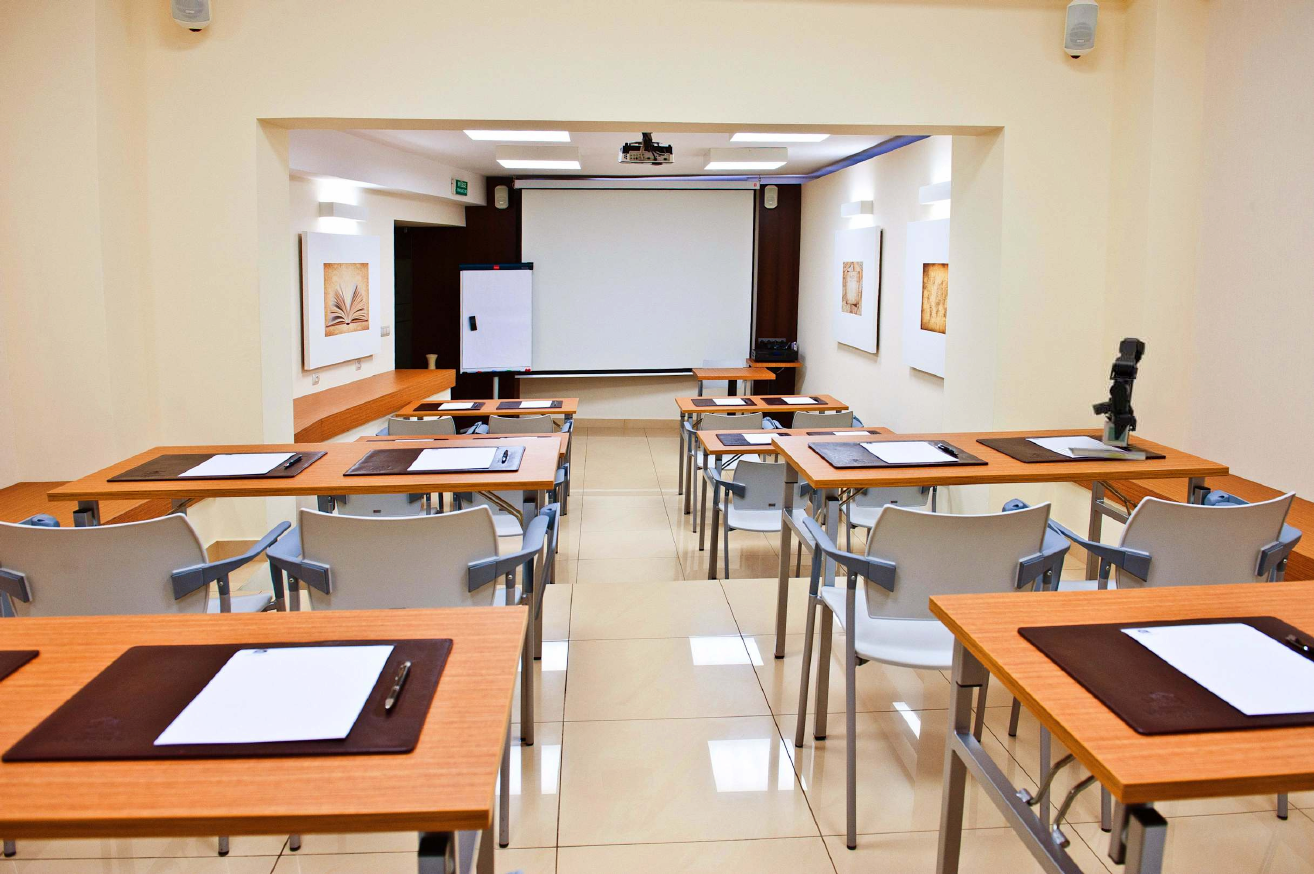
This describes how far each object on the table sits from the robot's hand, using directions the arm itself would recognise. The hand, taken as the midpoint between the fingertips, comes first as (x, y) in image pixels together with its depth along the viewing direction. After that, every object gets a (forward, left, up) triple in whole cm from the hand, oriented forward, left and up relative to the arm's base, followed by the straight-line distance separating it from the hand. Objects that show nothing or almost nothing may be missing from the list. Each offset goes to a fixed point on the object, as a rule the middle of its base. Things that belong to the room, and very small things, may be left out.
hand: (1114, 438), depth 328 cm
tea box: (0, 0, -2) cm, 2 cm away
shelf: (0, -3, -7) cm, 7 cm away
